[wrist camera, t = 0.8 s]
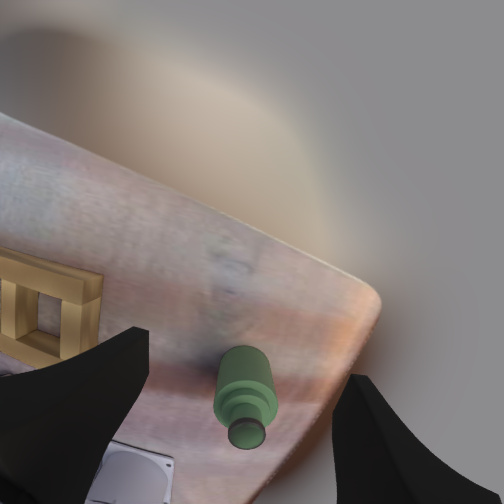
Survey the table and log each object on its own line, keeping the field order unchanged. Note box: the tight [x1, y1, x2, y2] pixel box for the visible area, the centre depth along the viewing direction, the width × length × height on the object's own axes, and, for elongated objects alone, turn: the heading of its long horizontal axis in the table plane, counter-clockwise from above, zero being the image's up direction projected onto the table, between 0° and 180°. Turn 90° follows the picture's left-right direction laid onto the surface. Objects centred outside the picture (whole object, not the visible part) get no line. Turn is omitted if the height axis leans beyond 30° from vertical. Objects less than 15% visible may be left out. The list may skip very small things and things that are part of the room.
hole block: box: [0, 247, 104, 369], centre depth 24 cm, size 9×17×4 cm, turn 79°
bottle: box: [213, 346, 278, 450], centre depth 22 cm, size 4×4×10 cm
